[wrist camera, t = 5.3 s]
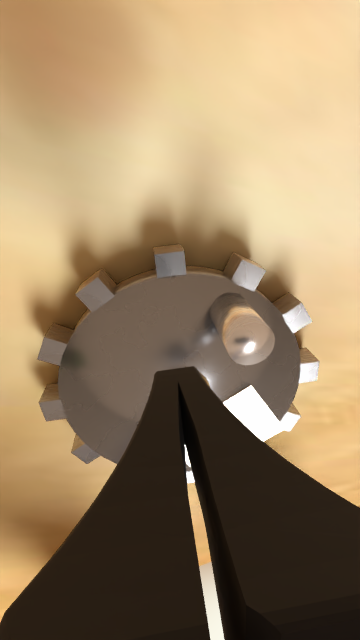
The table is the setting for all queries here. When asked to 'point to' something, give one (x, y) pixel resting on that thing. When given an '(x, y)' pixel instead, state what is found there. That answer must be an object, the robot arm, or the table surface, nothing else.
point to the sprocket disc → (175, 350)
